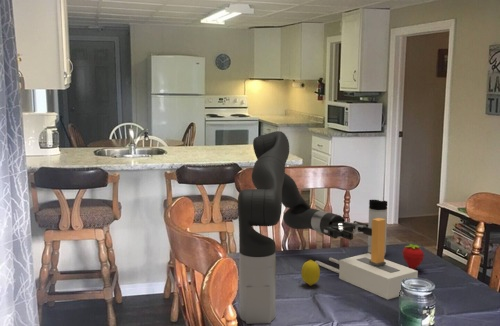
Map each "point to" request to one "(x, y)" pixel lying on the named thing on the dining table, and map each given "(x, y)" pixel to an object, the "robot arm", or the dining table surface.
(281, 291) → the dining table surface
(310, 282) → the lemon
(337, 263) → the cords
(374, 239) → the handle
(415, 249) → the strawberry
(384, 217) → the travel mug
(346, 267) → the switch box
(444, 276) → the dining table surface
